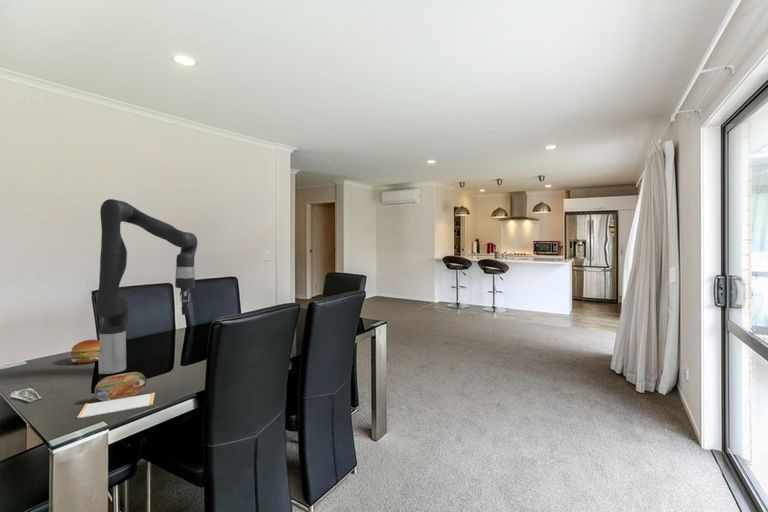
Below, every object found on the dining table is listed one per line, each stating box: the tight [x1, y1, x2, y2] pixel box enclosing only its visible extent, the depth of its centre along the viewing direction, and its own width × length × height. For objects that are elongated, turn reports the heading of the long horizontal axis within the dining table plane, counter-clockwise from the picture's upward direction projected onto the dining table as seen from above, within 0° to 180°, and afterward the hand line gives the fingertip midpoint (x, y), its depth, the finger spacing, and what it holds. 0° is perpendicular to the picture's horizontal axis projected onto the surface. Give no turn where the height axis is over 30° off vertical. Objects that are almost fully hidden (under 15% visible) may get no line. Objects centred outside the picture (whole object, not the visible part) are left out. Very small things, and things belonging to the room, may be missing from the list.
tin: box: [93, 371, 147, 402], centre depth 128 cm, size 15×3×8 cm, turn 127°
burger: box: [70, 339, 100, 364], centre depth 169 cm, size 13×14×10 cm
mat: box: [76, 392, 156, 420], centre depth 121 cm, size 20×11×1 cm, turn 119°
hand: (184, 313), depth 157 cm, fingers open, 8 cm apart
